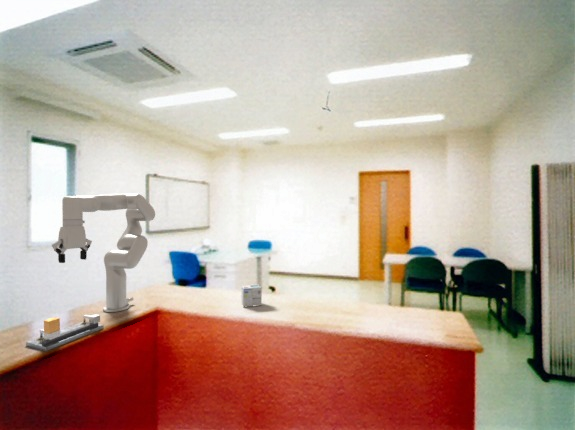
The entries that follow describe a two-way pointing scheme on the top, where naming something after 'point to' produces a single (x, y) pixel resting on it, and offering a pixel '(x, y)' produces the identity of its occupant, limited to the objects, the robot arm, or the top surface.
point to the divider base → (63, 341)
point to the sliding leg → (51, 328)
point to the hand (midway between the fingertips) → (73, 261)
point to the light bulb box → (251, 295)
